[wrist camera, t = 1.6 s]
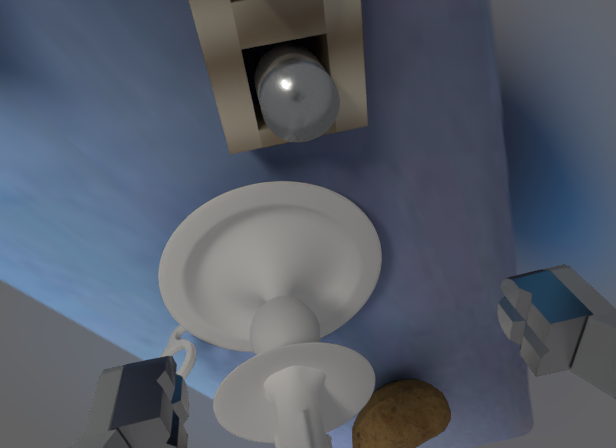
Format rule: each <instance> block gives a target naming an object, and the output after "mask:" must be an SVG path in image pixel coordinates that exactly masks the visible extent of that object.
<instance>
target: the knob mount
mask: <svg viewBox="0 0 616 448" xmlns="http://www.w3.org/2000/svg"><path fill="white" fill-rule="evenodd" d="M189 3H190V7H191V11H192V15H193V18H194V22H195V26H196V29H197V33H198V37H199V41H200V44H201V48H202V52H203V56H204V59H205V63H206V67H207V70H208V74H209V78H210V82H211V85H212V89H213V93H214V97H215V100H216V104H217V108H218V111H219V115H220V119H221V123H222V126H223V130H224V134H225V138H226V141H227V145H228V149H229V152H230V154H235V153H240V152H244V151H249V150H254V149H259V148H264V147H269V146H274V145H278V144H283V143H288V142H290V141H286V140H283V139H281V138H279V137H278V136H276V135H275V134H274V133H273V132H272V131H271V130H270V129H269V128H268V126H267V124H266V123H265V120H264V118H263V114H262V111H261V107H260V104H257V105H253V103H252V98H251V94H250V89H249V84H248V80H247V75H246V70H245V66H244V61H243V57H242V52H241V49H246V48H252V47H257V46H262V45H268V44H273V43H278V42H283V41H289V40H294V39H299V38H305V37H310V36H314V44H315V53H316V58H317V60H318V61H319V62H320V64H321V65H322V66H323V68H324V69H325V70H326V72H327V73H328V74H329V75H330V77H331V78H332V79H333V81H334V83H335V84H336V86H337V89H338V92H339V97H340V106H339V112H338V115H337V118H336V119H335V121H334V123H333V125H332V126H331V127H330V128H329V130H328V131H326V132H325V133H324V134H323V135H327V134H332V133H337V132H341V131H346V130H351V129H356V128H361V127H366V126H368V120H367V102H366V84H365V66H364V48H363V30H362V12H361V0H189ZM321 136H322V135H321Z"/></svg>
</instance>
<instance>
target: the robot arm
mask: <svg viewBox="0 0 616 448" xmlns="http://www.w3.org/2000/svg"><path fill="white" fill-rule="evenodd" d="M501 291H502V293H503V294H504V295H505V296H504V297H503V298H502V300H501V301H500V302H499V303H498V311H497V314H498V318H499V323H500V325H501V327H502V329H503V332H504V333H505V334H506V336H507V337H508V339H509V340H511V341H513V342H515V343H517V344H519V345H520V355H521V357H522V358H523V359H524V361H525V362H526V363H527V365H528V366H529V367H530V369H531V370H532V371H533V373H534V374H535V376H541V375H546V374H550V373H555V372H560V371H564V370H569V369H571V372H573V373H574V374H576V375H578V376H579V377H581V378H582V379H584V380H586V381H587V382H589V383H591V384H592V385H594V386H595V387H597V388H599V389H600V390H602V391H603V392H605V393H607V394H608V395H610V396H612V397H613V398H615V399H616V309H615V308H614V307H613V306H612V305H611V304H610V303H609V302H608V301H607V300H606V299H605V298H603V297H602V296H601V295H600V294H599V293H598V292H597V291H596V290H595V289H593V287H592V286H590V285H589V284H588V283H587V282H586V281H585V280H584V279H583V278H582V277H581V276H579V274H577V273H576V272H575V271H574V270H573V269H572V268H571V267H570V266H567V265H565V264H563V265H559V266H555V267H550V268H547V269H543V270H542V269H541V270H537V271H533V272H528V273H524V274H520V275H516V276H512V277H508V278H505V279H504V280H503V282H502V285H501ZM176 367H177V364H176V362H175V361H174V359H173V357H172V356H165V357H160V358H155V359H150V360H145V361H140V362H135V363H130V364H126V365H122V366H117V367H112V368H108V369H104V370H103V372H102V373H101V374H100V376H99V380H98V383H97V387H96V391H95V395H94V398H93V402H92V406H91V410H90V414H89V417H88V421H87V425H86V429H85V432H84V436H83V437H81V438H77V439H76V440H75V441H74V442H73V443H72V444H71V446H70V447H69V448H187V441H188V434H187V432H186V430H185V428H184V426H183V424H184V423H185V421H186V420H187V418H188V417H189V397H188V391H187V387H186V383H185V381H184V379H183V377H182V376H180V375H178V374H176Z"/></svg>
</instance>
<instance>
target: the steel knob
mask: <svg viewBox="0 0 616 448" xmlns="http://www.w3.org/2000/svg"><path fill="white" fill-rule="evenodd" d="M254 83H255V88H256V92H257V96H258V99H259V103H260V107H261V111H262V114H263V118H264V120H265V123H266V124H267V126H268V128H269V129H270V130H271V131H272V132H273V133H274V134H275V135H276V136H278V137H279V138H281V139H283V140H286V141H290V142H296V143H301V142H308V141H311V140H314V139H316V138H318V137H320V136H321V135H323V134H324V133H325V132H326V131H328V130H329V128H330V127H331V126H332V125H333V123H334V121H335V119H336V118H337V115H338V112H339V106H340V97H339V92H338V89H337V86H336V84H335V83H334V81H333V79H332V78H331V77H330V75H329V74H328V73H327V72H326V70H325V69H324V68H323V66H322V65H321V64H320V62H319V61H318V60H317V58H316V57H315V56H314V55H313V53H311V52H310V51H309V50H308V49H306V48H304V47H302V46H300V45H296V44H282V45H278V46H276V47H274V48H272V49H270V50H269V51H268V52H266V53H265V54H264V55H263V57H262V58H261V59H260V61H259V63H258V65H257V67H256V70H255V76H254Z"/></svg>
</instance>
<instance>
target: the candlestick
mask: <svg viewBox="0 0 616 448" xmlns="http://www.w3.org/2000/svg"><path fill="white" fill-rule="evenodd" d="M381 264H382V250H381V244H380V240H379V237H378V234H377V232H376V230H375V228H374V226H373V224H372V222H371V221H370V220H369V218H368V217H367V216H366V214H365V213H364V212H363V211H362V210H361V209H360V208H359V207H358V206H357V205H355V204H354V203H353V202H351V201H350V200H349V199H347V198H345V197H344V196H342V195H340V194H338V193H336V192H334V191H332V190H329V189H327V188H324V187H321V186H317V185H313V184H308V183H302V182H293V181H272V182H263V183H256V184H251V185H247V186H243V187H240V188H237V189H234V190H231V191H228V192H226V193H224V194H221V195H219V196H217V197H215V198H213V199H211V200H210V201H208V202H206V203H205V204H203V205H202V206H200V207H199V208H197V209H196V210H195V211H194V212H192V213H191V214H190V215H189V216H188V217H187V218H186V219H185V220H184V221H183V222H182V223H181V224H180V225H179V226H178V227H177V229H176V230H175V231H174V233H173V234H172V235H171V237H170V239H169V240H168V242H167V244H166V246H165V248H164V251H163V254H162V257H161V260H160V265H159V276H158V278H159V288H160V292H161V296H162V299H163V301H164V303H165V306H166V307H167V309H168V311H169V312H170V314H171V315H172V316H173V318H174V319H175V320H176V321H177V322H178V323H179V324H180V325H179V326H178V327H176V328H175V329H174V331H173V332H172V334H171V336H170V339H169V343H168V345H167V347H166V349H165V350H164V351H163V353H162V354H161V356H160V357H165V356H173V355H174V354H175V353H176V352H178V351H180V350H182V349H186V358H185V360H184V363H183V365H182V366H181V368H180V369H179V370H178V372H177V373H176V374H178V375H180V376H182V377H183V379H185V378H186V377H187V376H188V375H189V373H190V372H191V370H192V368H193V366H194V363H195V360H196V348H195V346H194V345H193V344H192V343H191V342H189V341H188V340H184V339H181V340H180V338H181V335H182V334H183V333H184V332H185V331H188V332H190V333H191V334H192V335H194V336H196V337H197V338H199V339H201V340H203V341H205V342H207V343H210V344H212V345H215V346H218V347H222V348H225V349H230V350H235V351H242V352H254V353H255V354H256V356H254V357H252V358H250V359H249V360H247V361H245V362H244V363H242V364H241V365H239V366H238V367H236V368H235V369H234V370H233V371H232V372H231V373H229V374H228V375H227V376H226V378H225V379H224V380H223V381H222V383H221V384H220V386H219V387H218V389H217V391H216V394H215V397H214V402H213V408H214V413H215V416H216V418H217V420H218V421H219V423H220V424H221V425H222V426H223V427H224V428H225V429H226V430H228V431H229V432H230V433H232V434H234V435H236V436H238V437H241V438H243V439H247V440H251V441H256V442H263V443H275V448H332V444H331V436H330V435H328V434H325V433H326V432H329V431H331V430H333V429H335V428H337V427H339V426H341V425H342V424H344V423H346V422H347V421H349V420H350V419H351V418H353V417H354V416H355V415H356V414H358V413H359V412H360V411H361V410H362V409H363V407H364V406H365V405H366V404H367V402H368V401H369V399H370V398H371V396H372V393H373V391H374V387H375V373H374V370H373V368H372V366H371V364H370V363H369V362H368V360H367V359H366V358H365V357H363V356H362V355H361V354H359V353H358V352H356V351H354V350H352V349H350V348H347V347H344V346H341V345H337V344H331V343H322V342H319V341H320V338H322V337H324V336H326V335H328V334H330V333H331V332H333V331H335V330H336V329H338V328H339V327H341V326H342V325H344V324H345V323H346V322H347V321H349V320H350V319H351V318H352V317H353V316H354V315H355V314H356V313H357V312H358V311H359V310H360V309H361V308H362V307H363V305H364V304H365V303H366V302H367V300H368V299H369V297H370V296H371V294H372V292H373V290H374V288H375V286H376V284H377V281H378V278H379V275H380V271H381ZM160 357H159V358H160Z"/></svg>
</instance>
